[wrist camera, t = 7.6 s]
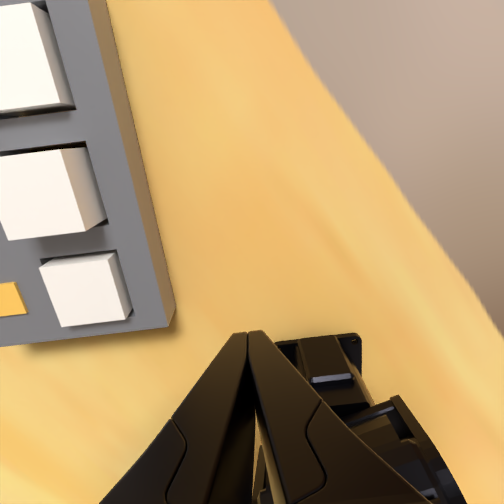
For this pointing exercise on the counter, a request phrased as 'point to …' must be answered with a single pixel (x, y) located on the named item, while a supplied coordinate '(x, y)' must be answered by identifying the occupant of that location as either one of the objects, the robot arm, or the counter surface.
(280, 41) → the counter surface
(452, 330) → the counter surface
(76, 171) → the middle key
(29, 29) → the key
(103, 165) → the keyguard plate
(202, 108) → the counter surface
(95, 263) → the key
